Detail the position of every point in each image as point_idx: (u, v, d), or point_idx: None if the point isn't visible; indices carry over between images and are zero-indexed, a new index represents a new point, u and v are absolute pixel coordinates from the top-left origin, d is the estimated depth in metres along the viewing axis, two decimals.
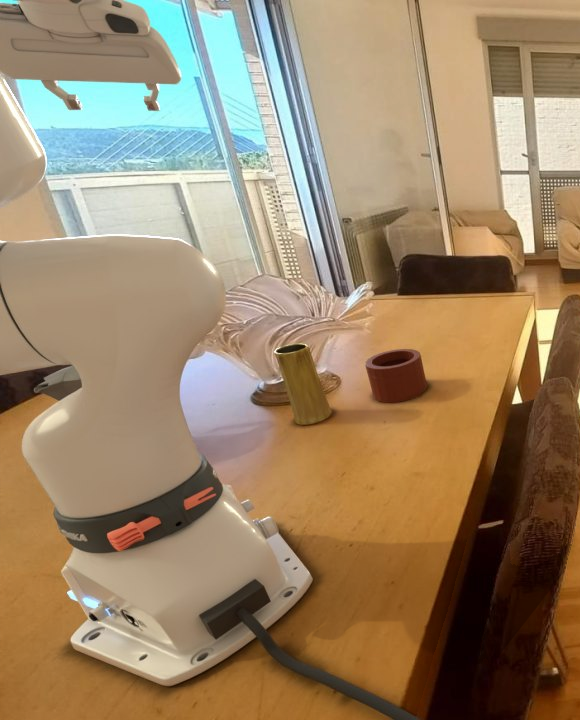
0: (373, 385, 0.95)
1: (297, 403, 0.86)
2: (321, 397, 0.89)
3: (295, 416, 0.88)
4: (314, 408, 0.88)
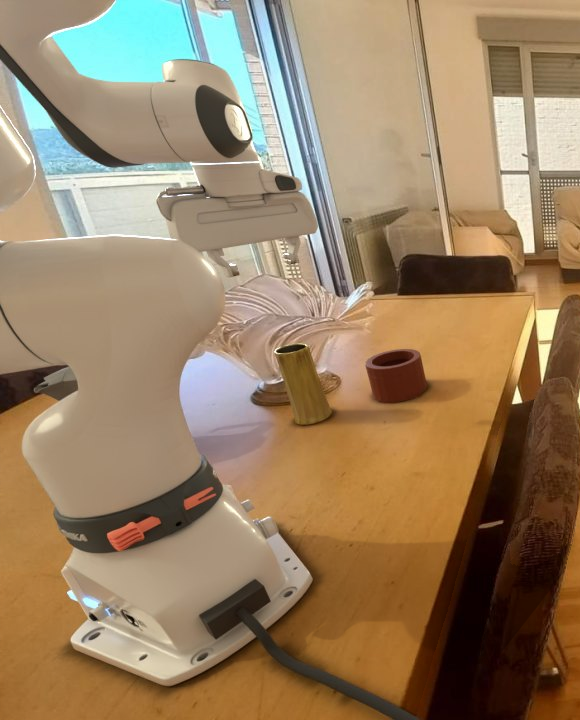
0: (373, 385, 0.95)
1: (297, 403, 0.86)
2: (321, 397, 0.89)
3: (295, 416, 0.88)
4: (314, 408, 0.88)
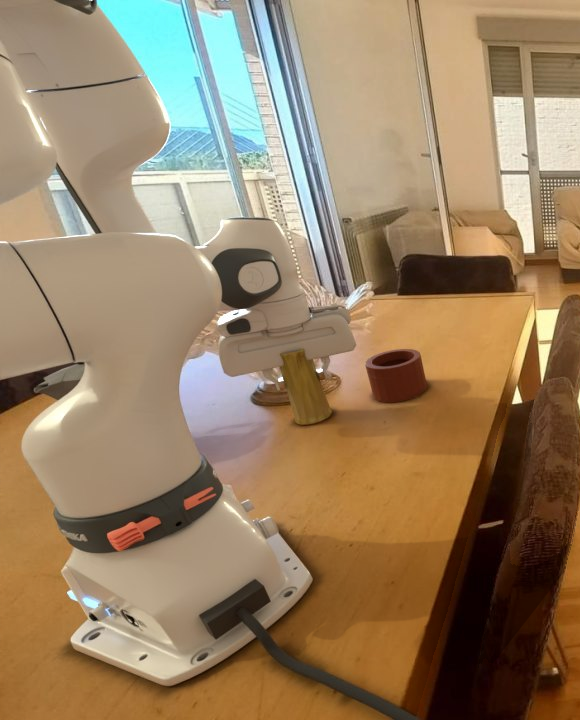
0: (373, 385, 0.95)
1: (297, 403, 0.86)
2: (321, 397, 0.89)
3: (295, 416, 0.88)
4: (314, 408, 0.88)
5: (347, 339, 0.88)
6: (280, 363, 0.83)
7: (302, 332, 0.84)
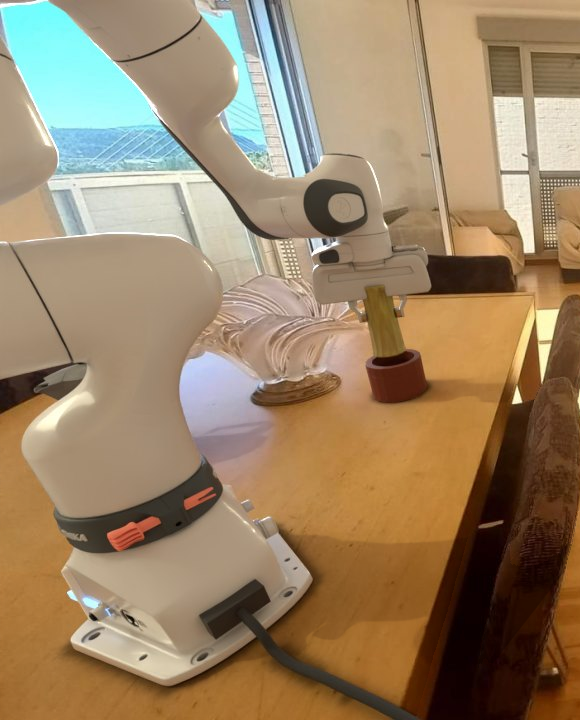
0: (373, 385, 0.95)
1: (375, 336, 0.92)
2: (397, 333, 0.94)
3: (373, 348, 0.94)
4: (390, 342, 0.93)
5: (423, 280, 0.93)
6: (363, 296, 0.89)
7: (384, 269, 0.89)
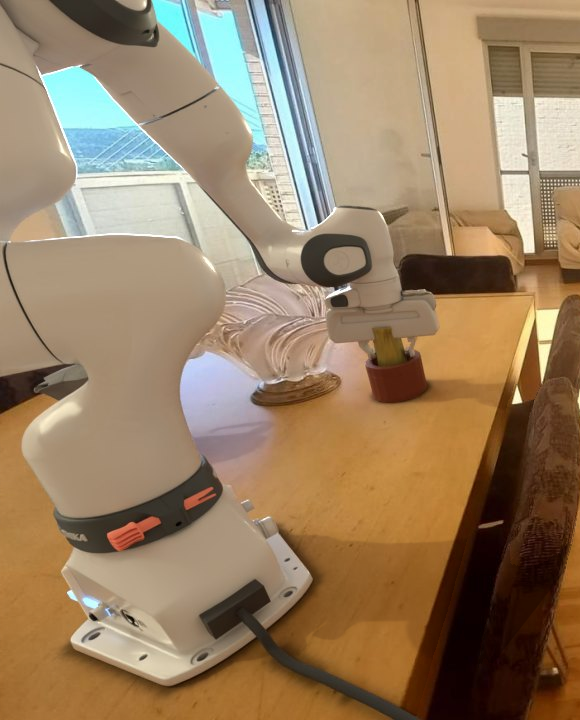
0: (373, 385, 0.95)
1: None
2: None
3: None
4: None
5: (429, 324, 0.94)
6: (372, 338, 0.93)
7: (392, 312, 0.92)
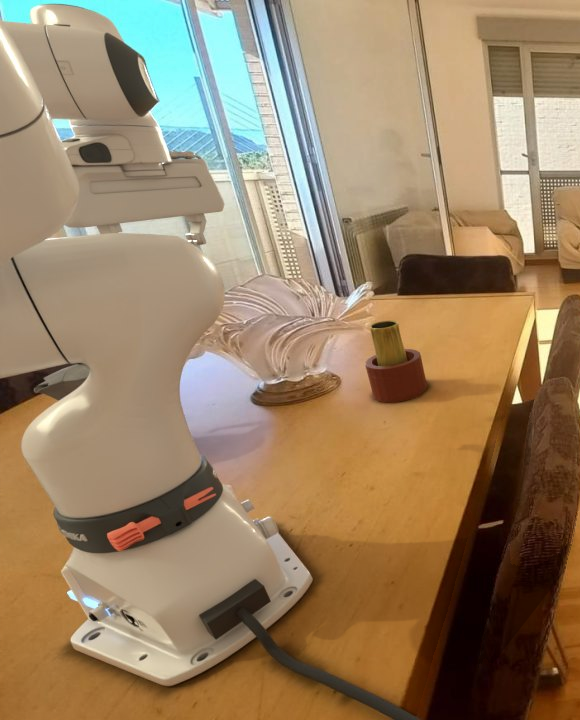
0: (373, 385, 0.95)
1: None
2: None
3: None
4: None
5: (215, 196, 0.76)
6: (144, 216, 0.67)
7: (164, 178, 0.69)
